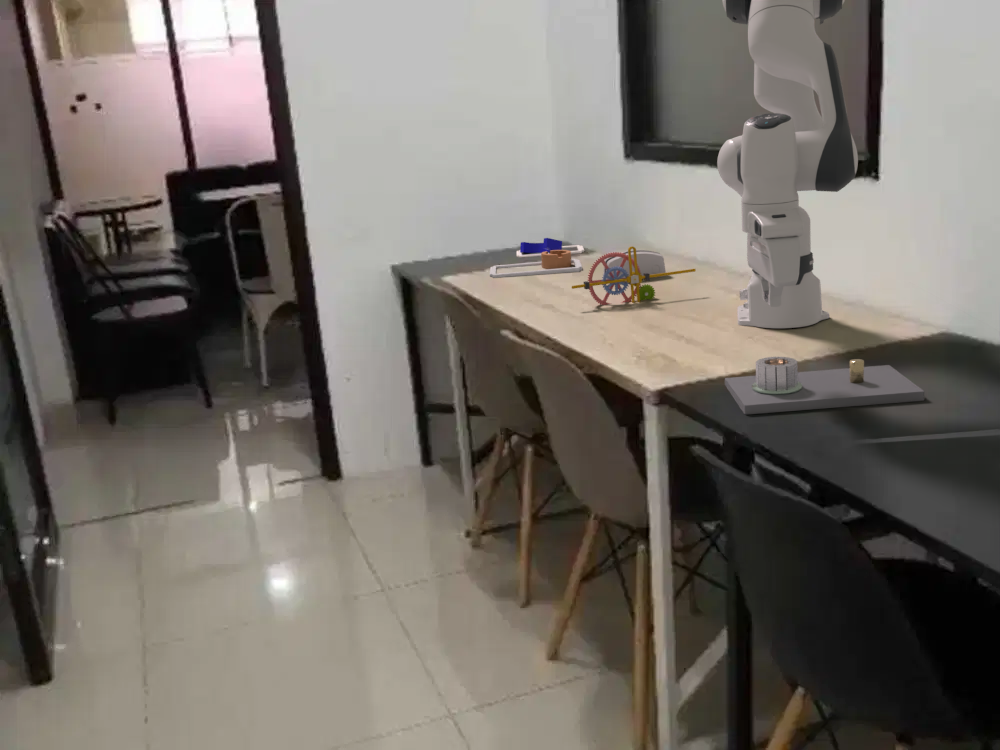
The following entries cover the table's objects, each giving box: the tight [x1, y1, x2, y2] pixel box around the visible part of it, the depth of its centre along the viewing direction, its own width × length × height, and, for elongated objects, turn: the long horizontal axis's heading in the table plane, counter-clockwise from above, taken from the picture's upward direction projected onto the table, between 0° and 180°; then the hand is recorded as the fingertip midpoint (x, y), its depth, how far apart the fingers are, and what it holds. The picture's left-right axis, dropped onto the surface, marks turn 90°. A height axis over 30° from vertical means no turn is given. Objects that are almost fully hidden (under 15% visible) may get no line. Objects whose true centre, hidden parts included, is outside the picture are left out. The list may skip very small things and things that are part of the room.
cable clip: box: [519, 237, 563, 254], centre depth 315 cm, size 12×4×6 cm
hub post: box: [752, 363, 802, 395], centre depth 172 cm, size 8×8×4 cm
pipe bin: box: [489, 258, 583, 279], centre depth 292 cm, size 15×25×4 cm, turn 89°
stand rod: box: [849, 358, 865, 383], centre depth 171 cm, size 2×2×4 cm
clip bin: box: [516, 244, 585, 259], centre depth 318 cm, size 12×20×4 cm, turn 89°
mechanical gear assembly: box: [571, 246, 696, 306], centre depth 244 cm, size 30×4×15 cm, turn 102°
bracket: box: [540, 249, 572, 270], centre depth 298 cm, size 18×8×7 cm, turn 23°
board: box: [724, 364, 925, 415], centre depth 172 cm, size 16×28×2 cm, turn 89°
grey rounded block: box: [602, 249, 667, 279], centre depth 271 cm, size 17×5×10 cm, turn 100°
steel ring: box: [755, 356, 799, 391], centre depth 172 cm, size 6×6×4 cm
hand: (771, 303), depth 171 cm, fingers closed
